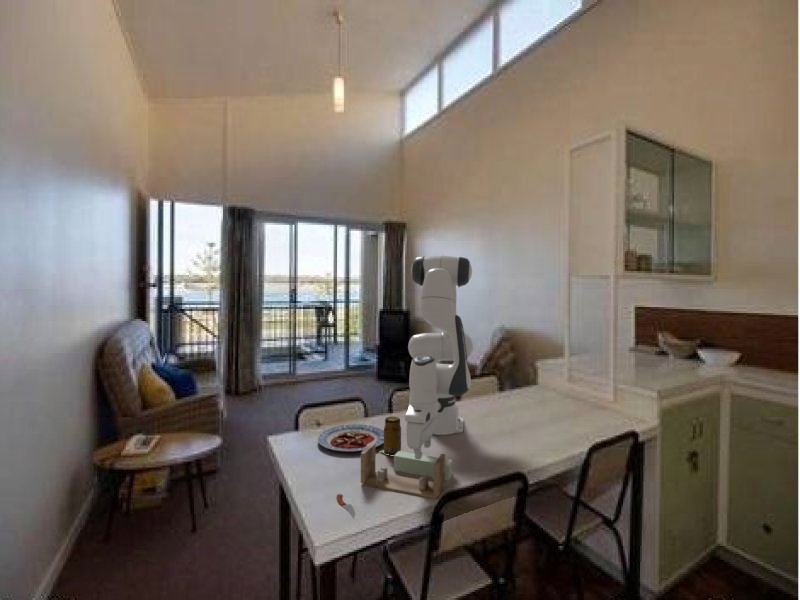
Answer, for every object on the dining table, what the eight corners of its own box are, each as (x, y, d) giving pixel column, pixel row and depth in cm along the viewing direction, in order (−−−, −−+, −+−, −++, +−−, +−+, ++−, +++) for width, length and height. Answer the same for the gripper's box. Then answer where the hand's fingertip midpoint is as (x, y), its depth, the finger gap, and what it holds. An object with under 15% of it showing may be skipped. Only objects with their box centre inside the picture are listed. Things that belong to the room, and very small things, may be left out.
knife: (363, 515, 111) (353, 518, 110) (363, 517, 111) (352, 520, 110) (342, 492, 122) (332, 495, 121) (342, 494, 123) (332, 497, 121)
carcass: (371, 473, 135) (371, 443, 135) (445, 486, 127) (445, 454, 127) (360, 484, 128) (360, 452, 127) (437, 499, 120) (438, 465, 119)
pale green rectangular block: (398, 465, 141) (398, 451, 141) (452, 475, 134) (452, 460, 134) (393, 471, 137) (393, 455, 137) (448, 481, 131) (448, 465, 130)
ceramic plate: (377, 459, 146) (377, 451, 146) (306, 453, 151) (306, 444, 151) (394, 432, 171) (394, 424, 171) (332, 427, 176) (332, 420, 176)
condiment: (392, 446, 157) (392, 414, 156) (409, 453, 151) (410, 419, 150) (378, 452, 151) (378, 418, 151) (395, 459, 145) (395, 424, 145)
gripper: (423, 399, 145) (423, 439, 146) (402, 417, 126) (402, 463, 127) (441, 401, 143) (441, 442, 144) (423, 420, 124) (423, 467, 125)
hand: (423, 452), depth 135 cm, fingers open, 8 cm apart
